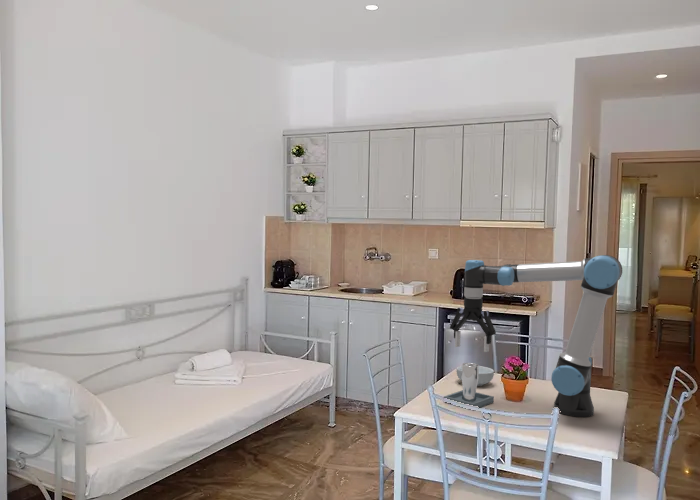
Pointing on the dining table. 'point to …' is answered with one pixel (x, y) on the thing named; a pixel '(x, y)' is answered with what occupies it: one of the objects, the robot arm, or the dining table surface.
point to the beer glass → (470, 381)
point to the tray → (480, 402)
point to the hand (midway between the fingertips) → (471, 349)
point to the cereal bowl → (484, 375)
